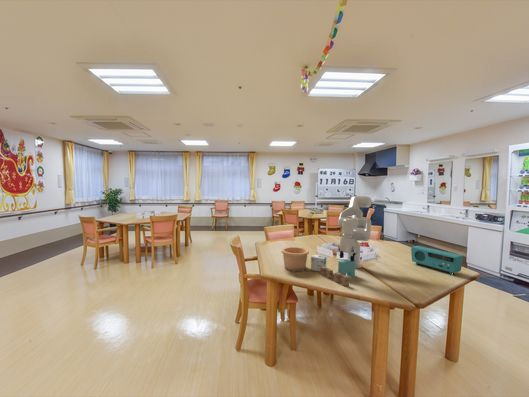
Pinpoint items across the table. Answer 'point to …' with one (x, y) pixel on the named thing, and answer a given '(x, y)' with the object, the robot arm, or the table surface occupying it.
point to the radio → (437, 259)
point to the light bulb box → (317, 262)
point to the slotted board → (334, 276)
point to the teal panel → (347, 267)
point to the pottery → (295, 258)
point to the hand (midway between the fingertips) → (346, 259)
